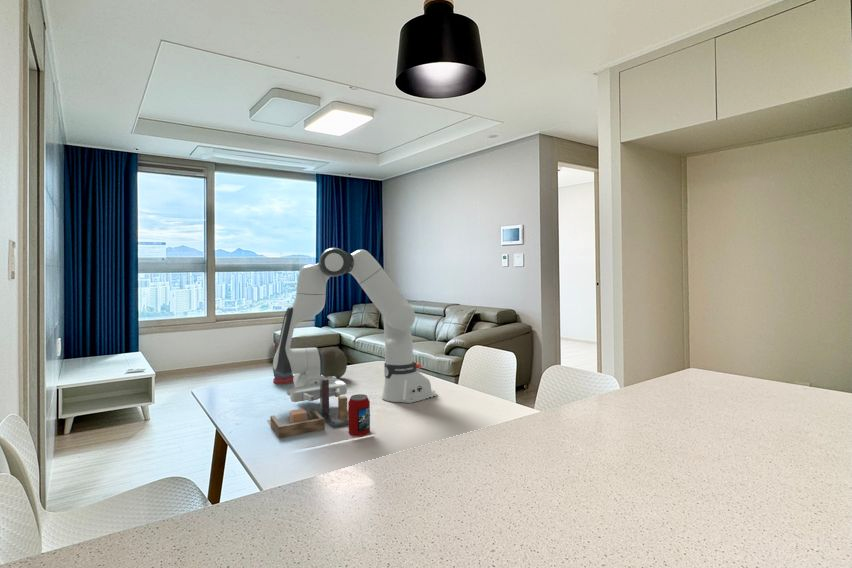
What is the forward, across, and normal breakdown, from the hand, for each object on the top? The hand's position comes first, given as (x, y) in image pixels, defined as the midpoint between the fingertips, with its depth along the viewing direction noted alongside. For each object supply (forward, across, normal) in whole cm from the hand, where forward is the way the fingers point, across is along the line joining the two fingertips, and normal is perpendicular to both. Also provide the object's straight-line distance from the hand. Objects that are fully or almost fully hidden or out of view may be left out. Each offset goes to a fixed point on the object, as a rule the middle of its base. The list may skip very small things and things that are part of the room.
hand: (325, 396), depth 161 cm
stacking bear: (-60, 0, +8) cm, 61 cm away
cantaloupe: (-52, +20, +8) cm, 56 cm away
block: (+2, -10, +7) cm, 13 cm away
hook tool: (+5, +3, +8) cm, 10 cm away
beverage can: (+19, +5, +8) cm, 21 cm away
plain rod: (+4, +5, +8) cm, 10 cm away
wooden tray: (+2, -11, +8) cm, 14 cm away
